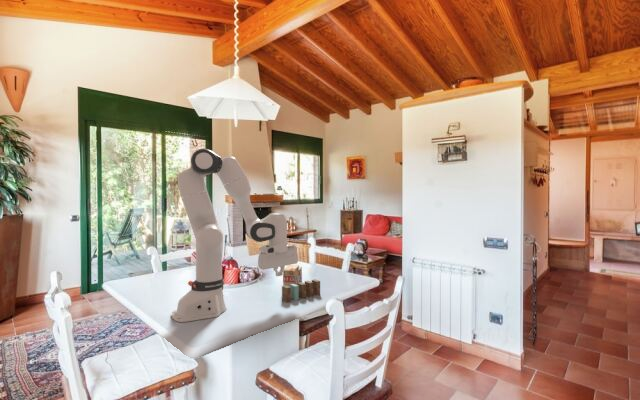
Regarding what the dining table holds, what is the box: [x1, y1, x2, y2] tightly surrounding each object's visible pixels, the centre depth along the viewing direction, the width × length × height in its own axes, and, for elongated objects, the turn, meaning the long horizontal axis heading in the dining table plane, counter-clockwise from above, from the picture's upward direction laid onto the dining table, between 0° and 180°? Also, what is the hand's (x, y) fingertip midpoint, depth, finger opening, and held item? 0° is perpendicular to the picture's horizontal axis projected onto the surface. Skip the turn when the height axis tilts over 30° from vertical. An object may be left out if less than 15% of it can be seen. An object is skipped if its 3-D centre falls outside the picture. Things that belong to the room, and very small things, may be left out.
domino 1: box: [281, 285, 292, 303], centre depth 158 cm, size 2×4×7 cm, turn 37°
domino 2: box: [297, 281, 307, 300], centre depth 164 cm, size 2×4×7 cm, turn 37°
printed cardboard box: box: [282, 264, 303, 287], centre depth 181 cm, size 21×6×12 cm, turn 173°
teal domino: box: [290, 284, 300, 302], centre depth 161 cm, size 2×4×7 cm, turn 37°
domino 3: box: [304, 280, 314, 298], centre depth 166 cm, size 2×4×7 cm, turn 37°
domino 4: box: [311, 279, 321, 296], centre depth 169 cm, size 2×4×7 cm, turn 37°
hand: (279, 275), depth 155 cm, fingers closed
